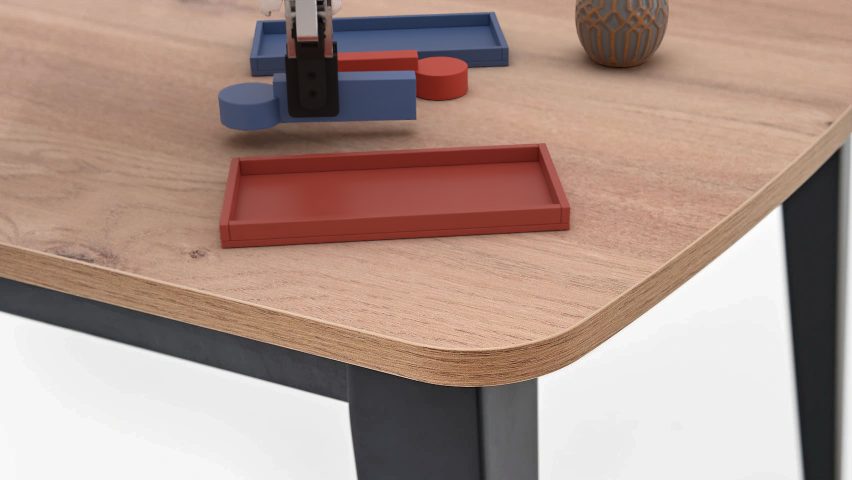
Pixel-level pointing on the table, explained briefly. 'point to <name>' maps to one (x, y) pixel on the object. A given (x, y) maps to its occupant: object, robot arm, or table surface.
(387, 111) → the blue disc-ended bar
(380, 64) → the red disc-ended bar
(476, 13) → the blue tray
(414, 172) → the red tray
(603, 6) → the vase
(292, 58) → the robot arm
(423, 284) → the table surface
